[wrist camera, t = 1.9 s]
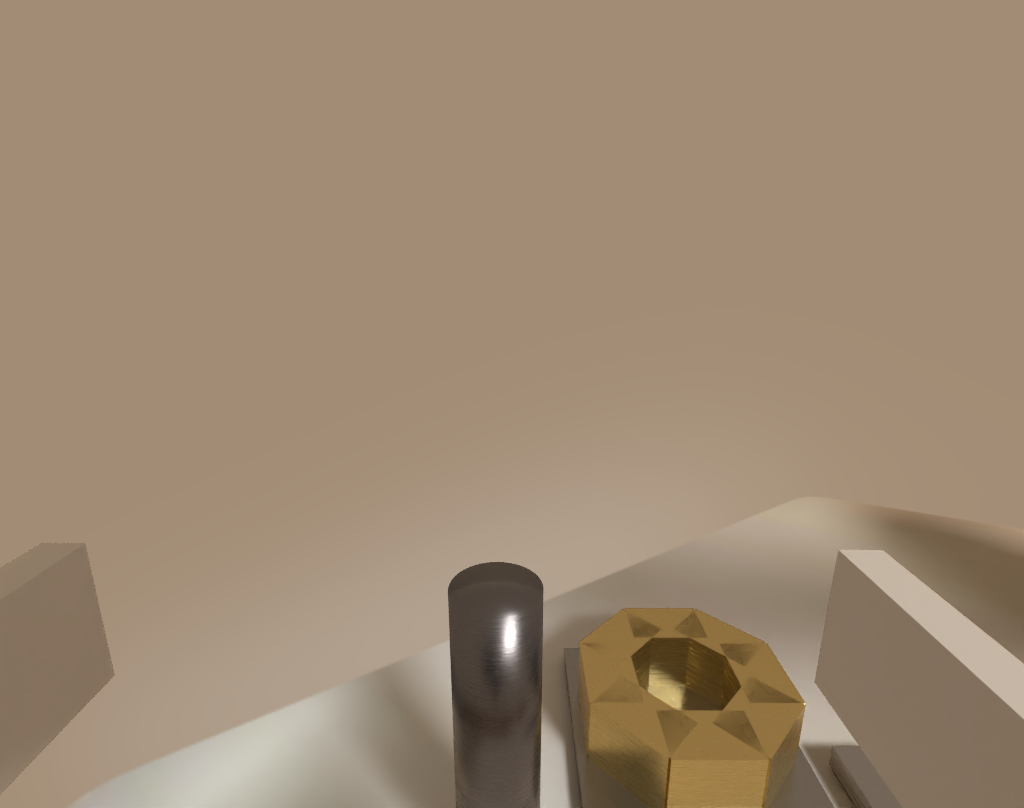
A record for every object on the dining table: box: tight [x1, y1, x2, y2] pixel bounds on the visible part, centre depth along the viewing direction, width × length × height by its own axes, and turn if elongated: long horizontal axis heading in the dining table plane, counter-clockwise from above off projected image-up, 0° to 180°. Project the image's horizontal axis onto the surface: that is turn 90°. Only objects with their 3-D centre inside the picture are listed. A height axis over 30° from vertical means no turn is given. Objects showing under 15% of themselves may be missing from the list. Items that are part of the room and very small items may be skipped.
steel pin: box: [448, 562, 543, 808], centre depth 23 cm, size 4×4×14 cm
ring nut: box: [564, 608, 834, 808], centre depth 31 cm, size 12×12×4 cm
